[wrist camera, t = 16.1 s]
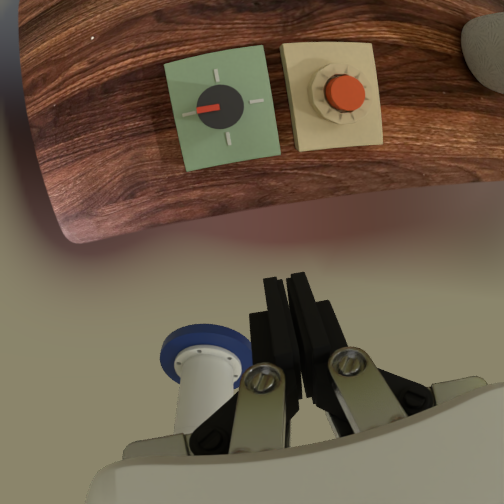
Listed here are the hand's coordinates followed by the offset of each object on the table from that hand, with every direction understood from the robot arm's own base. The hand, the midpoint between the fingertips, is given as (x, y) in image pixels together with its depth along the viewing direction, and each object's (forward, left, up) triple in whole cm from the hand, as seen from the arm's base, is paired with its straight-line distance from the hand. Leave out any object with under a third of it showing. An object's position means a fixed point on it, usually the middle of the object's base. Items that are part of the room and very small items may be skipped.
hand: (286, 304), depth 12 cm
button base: (+8, -10, -23) cm, 26 cm away
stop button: (+8, -10, -19) cm, 23 cm away
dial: (+8, +2, -21) cm, 22 cm away
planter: (+16, -36, -23) cm, 46 cm away
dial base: (+8, +2, -23) cm, 25 cm away
